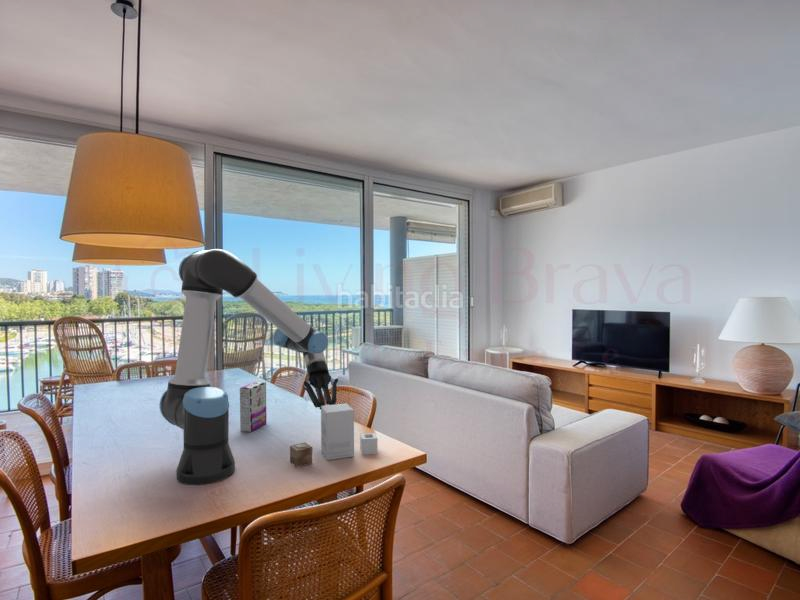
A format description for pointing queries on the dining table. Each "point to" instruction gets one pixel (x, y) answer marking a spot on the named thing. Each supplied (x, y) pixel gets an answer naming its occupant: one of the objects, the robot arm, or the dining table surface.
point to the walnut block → (301, 454)
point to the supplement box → (337, 431)
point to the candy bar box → (252, 406)
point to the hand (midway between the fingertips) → (330, 423)
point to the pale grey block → (368, 443)
